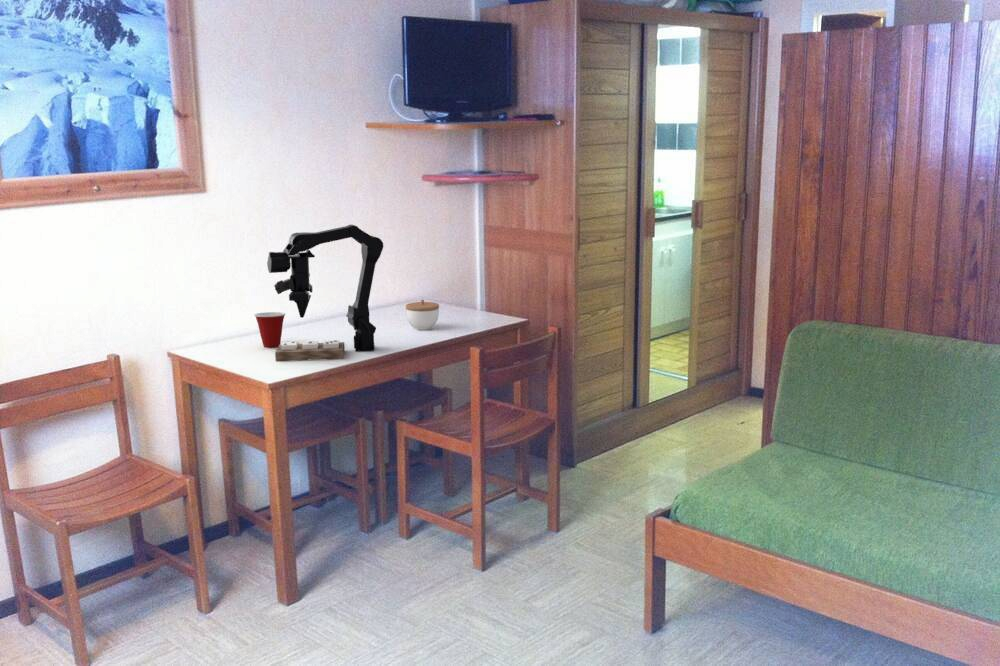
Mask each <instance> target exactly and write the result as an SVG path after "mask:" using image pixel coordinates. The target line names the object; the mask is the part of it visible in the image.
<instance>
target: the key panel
mask: <svg viewBox="0 0 1000 666" xmlns="http://www.w3.org/2000/svg"><path fill="white" fill-rule="evenodd" d="M323 343H324V342H318V344H319V346H318V349H302V344H303V343H298V347H297V350H281V344H282V343H280V344H279V346H278V347H276V350H275V352H274V355H275V356H274V357H275V358H274V359H275V362H289V361H288V360H298V361H309V360H308V359H327V360H343V359H344V356H345V352H346V350H345V342H344V341H343V342H342V341H339V348H328V349H323ZM344 351H345V352H344Z"/></svg>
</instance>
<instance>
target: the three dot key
mask: <svg viewBox="0 0 1000 666" xmlns="http://www.w3.org/2000/svg"><path fill="white" fill-rule="evenodd" d="M339 342H340V340H338V339H337V340H324V341H323V342H322V343H323V349H328V348H339Z"/></svg>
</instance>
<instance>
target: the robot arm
mask: <svg viewBox="0 0 1000 666" xmlns="http://www.w3.org/2000/svg"><path fill="white" fill-rule="evenodd" d="M350 238H352V239H353V240H354V241H356V242H357V243H359V244H360V246H361V247H360V248H361V249H360V250H361V251H360V252H361V258H362V263H361V269H360V274H359V279H358V284H357V291H356V296H355V299H354V300H355V301H354V302H353V304H352V305H350V304H348V308H347V314H346V318H347V321H348V324H349V325H350V326H352V327H353V330H354V331H355V332H354V335H353V348H354V349H355V351H354V352H368V351H370V352H373V351H375V350H376V349H375V348H376V347H375V335H374V334H375V333H376V329H377V327H376V326H375V325H374V324H373V323H372V322H371V321H370V310H369V307H370V306H369V300H370V295H371V291H372V285H373V279H374V273H375V270H376V269H375V268H376V264H377V262H378V260H380V257H381V255H382V253H383V250H384V242H383V240H382V239H381V238H380V237H377V236H374V235H371V234H368V233H367V232H365V231H364V230H362V229H361V228H360V227H358V226H357V225H355V224H348V225H345V226H340V227H335V228H331V229H326V230H321V231H316V232H307V231H306V232H294V233H292V234H291V235H290V236H289V239H288V243H287V244H286V246H285V248H284V249H283V250H282V252H281V251H276V252H275V251H268V256H267V261H266V262H267V263H266V264H267V271H268V273H269V274H276V273H287V272H288V271H289V270H291V273H290V276H289V278H287V279H284V280H281V279H280V280H279V281H277V282H276V283H274V285H273V286H274V289H275V291H276V293H277V295H280V294H282V293H283V292H286V291H287V292H288V291H290V292H289V294H288V300H289V301H291V302H294V303H295V304H296V307H297V310H298V314H299V318H300V319H301V318H305V315H306V312H307V308H308V307H309V303H310V300H311V298H312V295H311V294H310V293H313V285H312V284H311V283H310V275H311V274H310V265H309V264H310V261H309V260H310V258H315V256H316V255H315V254H314V253H312V251H311V249H313V248H315V247H317V246H319V245H321V244H326V243H331V242H335V241H341V240H344V239H345V240H346V239H350Z"/></svg>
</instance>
